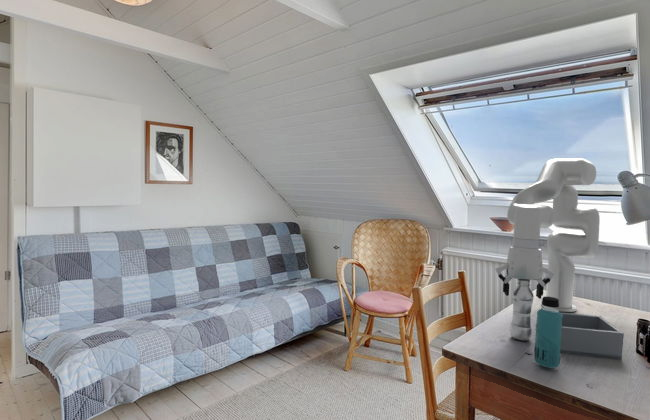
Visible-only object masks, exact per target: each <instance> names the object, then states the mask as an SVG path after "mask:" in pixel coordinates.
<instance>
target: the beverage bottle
mask: <svg viewBox="0 0 650 420" xmlns="http://www.w3.org/2000/svg"><path fill="white" fill-rule="evenodd" d="M541 302H542V305H544V306H547V307H552V308H545V307H542V308H540V309H538V310H537V311H536V323H535V338H534V341H535V343H534V349H533V351H534V353H533V358H534V361H535V363H536V364H538V365H540V366H542V367H545V368H546V367H547V368H550V369H551V368H558V367H559V366H560V363H561V362H560V361H561V353H560V348H561V343H562V342H561V330H562V318H563V315H562V314H561V313H562V312H560V311H558V310H556V309H553V308H557V307H559V300H558V299H557V298H554V297H546V296H542V298H541ZM542 305H541V306H542Z"/></svg>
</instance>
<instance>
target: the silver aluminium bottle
mask: <svg viewBox="0 0 650 420" xmlns="http://www.w3.org/2000/svg"><path fill="white" fill-rule="evenodd" d="M516 284H517V285H516V287H515V288H514V289H513V290H512V293H511V299H512V318H511V324H510V327H509V333H510V336H511V337H512V338H513V339H515V340H518V341H522V342H523V341H529V340H530V339H531V338H532V337H531V336H532V334H533V332H532V325H531V323H532V322H531V320H532V319H531V316H532V315H531V314H532V307H533V303H534V299H535V298H534V292H533V291H532V290H531V288H530V286H531V280H526V279H517V282H516Z"/></svg>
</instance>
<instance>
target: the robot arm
mask: <svg viewBox="0 0 650 420" xmlns="http://www.w3.org/2000/svg"><path fill="white" fill-rule="evenodd" d="M596 179H597V168H596V166H595V164H594V163H593V162H591V161H589V160H587V159H585V158H553V159H549V160H547V161H546V162H545V163H544V165H543V166H542V168H541V171H540V173H539V175H538V177H537V179H536V180H535V183H533V184H531V185H529V186H527V187H525V188H524V189H522V190H521V191H519V192H517V193H516V195H515V196H514V197H513V199H512V200H511V203H510V205H509V207H508V210H507V215H506V216H507V217H506V218H507V221H508V222H509V224H510V225H512V226H513V236H512V237H513V238H512V239H513V240H512V246H509V248H508V252H507V260H506V264H503V265H499V266H498V267H495V269H494V270H495V272H496V274H497V276H498V278H499V279H500V280H501V281H502V293H504V295H505V296H510V295H509V294H510V283H509V282H510V281H511V280H513V279H515V280H516V279H517V280H518V279H526V280H530V281H536V283H537V284H536V291H535V292H536V293H535V297H536V298H537V299H540V300H542V297H544V296H543V295H544V288H545V286H546V292H545V297H554V298H557V299H558V300H559V307H557V308H553V309H556V310H558V311H559V312H560V313H573V312H576V311H577V306H576V305H575V304H573V301H574V300H573V299H574V286H575V285H574V284H575V275H576V274H575V272H576V266H575V264H574V262H573V260H572V259H571V258H570V257H575V258H582V259H593V258H595V257H596V256H597V254H598V251H599V242H600V241H599V239H600V238H599V237H600V221H601V220H600V219H601V218H600V213H599V210H598V209H597V208H595V207H592V206H586V205H585V206H584V205H583V206H582V205H578V200H579V193H578V190H577V189H576V188H575V186H590V185H592V184H593V183H594V182H595V180H596ZM551 200H552V207H551V206H550V205H545V204H544V205H543V204H539V203H544V202H547V201H551ZM552 226H554V227H555V228H559V229H564V230H565V229H566V230H575V231H581V232H583V233H581V232H580V233H579V232H571V231H561V230H559V231H553V232H551V233H549V234H548V236H547V238H546V244H547V258H548V259H547V268H545V267H543V265H544V264H543V256H542V249H541V247H544V246H545V242H544V241H542V240H541V239H540V237H541V229H548V228H550V227H552ZM502 271H505V274H506V275H505V276H504V275H503V274H502ZM543 273H545V274H546V277H544V278H543ZM542 278H543V279H542ZM540 305H541V306H542V308H552V307H547V306H544V305H542V301H541V303H540Z"/></svg>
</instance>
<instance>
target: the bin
mask: <svg viewBox="0 0 650 420" xmlns="http://www.w3.org/2000/svg"><path fill="white" fill-rule="evenodd" d="M560 313H561V314H562V315H563V318H562V330H561V342H562V343H561V348H560V354H563V355H572V356H573V355H574V356H580V357H581V356H583V357H590V358H591V357H592V358H600V359H601V358H602V359H611V360H618V361H622V360H623V348H624V338H625V336H624V335H625V333H624V332H623V331H621V330H620V329H619V328H617V327H616V326H614V325H613V324H612V323H610V322H609V321H608V320H607V319H605V318H604V317H602V316H601V315H590V314H579V313H571V312H560Z"/></svg>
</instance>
